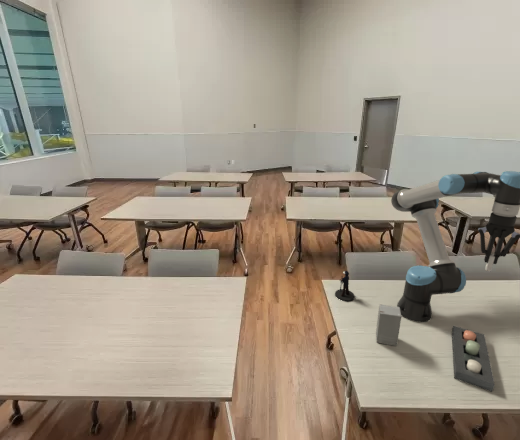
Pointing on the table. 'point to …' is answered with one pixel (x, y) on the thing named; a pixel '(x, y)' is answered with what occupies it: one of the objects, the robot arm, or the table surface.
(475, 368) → the white glossy ball
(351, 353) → the table surface
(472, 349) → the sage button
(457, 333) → the panel
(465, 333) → the coral button
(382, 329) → the skincare box
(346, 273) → the figurine
